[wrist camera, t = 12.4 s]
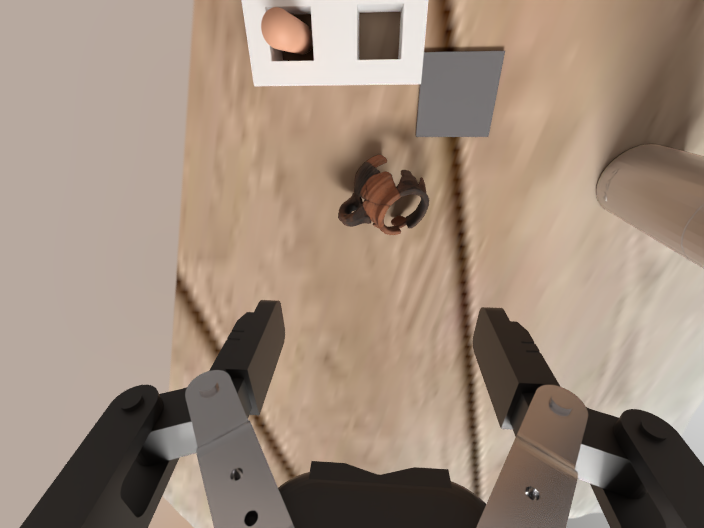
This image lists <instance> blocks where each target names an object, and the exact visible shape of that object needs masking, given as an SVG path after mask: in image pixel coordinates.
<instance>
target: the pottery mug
mask: <svg viewBox="0 0 704 528" xmlns="http://www.w3.org/2000/svg"><path fill="white" fill-rule="evenodd" d="M384 163H387V159H386V158H385V157H383V156H382V155H376V156H374V157H372V158H370V159H369V160H367V161H366V162H365V163H364V164H363V165H362V166H361V167H360V168H359V170H358V171H357V173H356V176H355V181H354V194H353V195H352V196H351V197H350V198H349V199H348V200H347V201H345V202H344V203H343V204H342V205H341V207H340V209H339V213H338V218H339V220H340V221H342V223H343V224H344V225H346V226H357V225H359V224H362V223H368V224H370V223H371V221H372V222H374V223H373V225H374V226H375V227H377V228H380V230H381V231H382V232H384V233H385V234H389V235H397V234H400V233H401V230H400V229H399V228H402V227H404V226H405V225H407V226H408V228H413V227H414V226H416V225H417V224H418V223H419V222H420V221H421V220H422V218H423V217H424V215H425V213H426V210H427V209H428V206H429V198H428V195H427V194H426V188H425V183H424V180H423V178H422V177H421V178H420V182H419V184H418V182H417V180H416V178H415V177H414V176H413V175H412V174H411V172H410V171H407V170H402V171H401V175H402V177H401V180H400V182H399V184H398V186H397V187H396V186H395V183H394V181H393V178H392V175H391V174H390V173H388V172H382V173H380V171H379V170H377V169H376V167H378V166H380V165H382V164H384ZM409 194H416V195H419V196H420V197H421V201H420V203H419V205H418V207H417V209H416V210H415V211H414V212H413V213H411V214H410V215H409V216H407V217H406V218H405V217H403V216H400V215H398V216H396V217H395V218H394V219H392V221H391V223H392V225H394V226H392V227H387V226H385V225H384V216H385V214H386V211H387V210H388V208H389V207H390V206H391V205H392V204H393V203H394V202H395V201H397V200H398V199H399V198H401V197H403V196H406V195H409ZM361 197H362V198H363V199H365V200H364V202H362V198H361ZM355 210H356V211H355ZM352 211H354V212H353V213H351V212H352Z"/></svg>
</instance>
